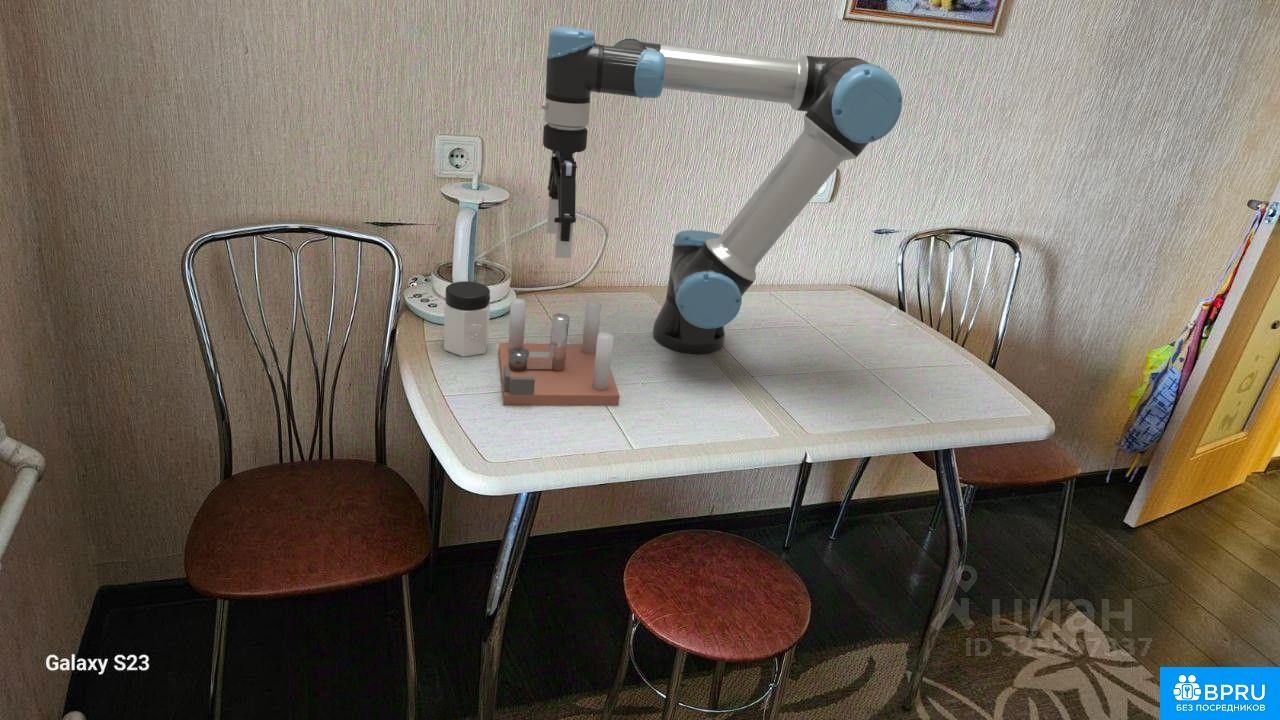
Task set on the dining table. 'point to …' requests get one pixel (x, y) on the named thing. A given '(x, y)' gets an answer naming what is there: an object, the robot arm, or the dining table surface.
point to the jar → (466, 318)
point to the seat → (571, 386)
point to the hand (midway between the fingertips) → (558, 244)
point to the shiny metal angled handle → (544, 360)
